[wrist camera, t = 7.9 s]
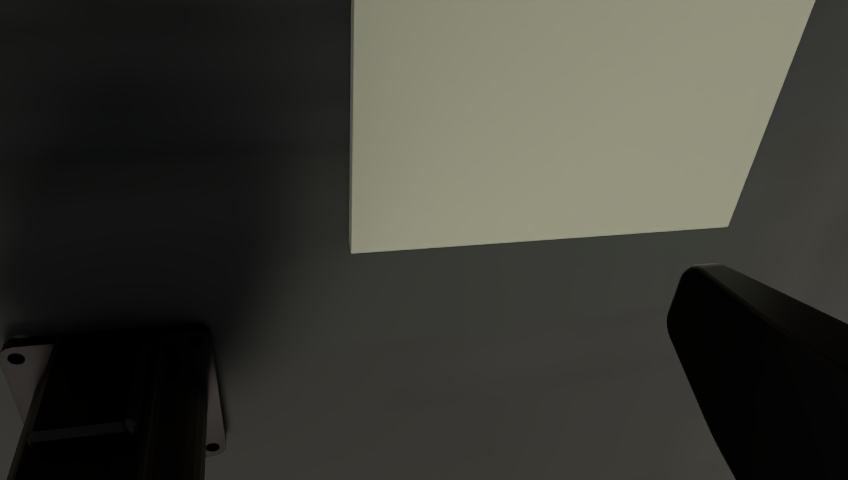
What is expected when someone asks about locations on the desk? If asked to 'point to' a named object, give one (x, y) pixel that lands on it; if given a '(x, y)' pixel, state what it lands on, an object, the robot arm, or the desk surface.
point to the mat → (557, 115)
